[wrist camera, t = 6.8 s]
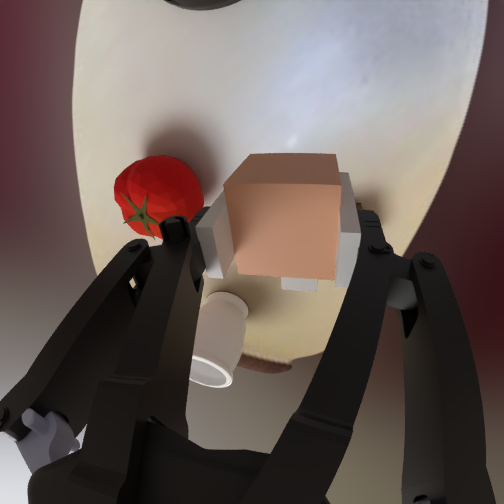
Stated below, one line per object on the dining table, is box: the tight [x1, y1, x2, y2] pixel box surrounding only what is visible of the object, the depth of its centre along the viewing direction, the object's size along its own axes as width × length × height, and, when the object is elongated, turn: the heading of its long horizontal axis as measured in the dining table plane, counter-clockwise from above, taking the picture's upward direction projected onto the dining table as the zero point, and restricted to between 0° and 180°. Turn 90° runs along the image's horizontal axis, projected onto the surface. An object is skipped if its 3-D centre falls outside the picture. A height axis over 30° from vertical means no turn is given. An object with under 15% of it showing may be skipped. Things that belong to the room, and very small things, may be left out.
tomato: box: [114, 155, 204, 240], centre depth 34 cm, size 11×13×10 cm
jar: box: [189, 292, 248, 388], centre depth 46 cm, size 11×10×15 cm
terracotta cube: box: [223, 153, 341, 280], centre depth 14 cm, size 5×5×5 cm
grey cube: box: [281, 277, 318, 292], centre depth 39 cm, size 5×5×5 cm
